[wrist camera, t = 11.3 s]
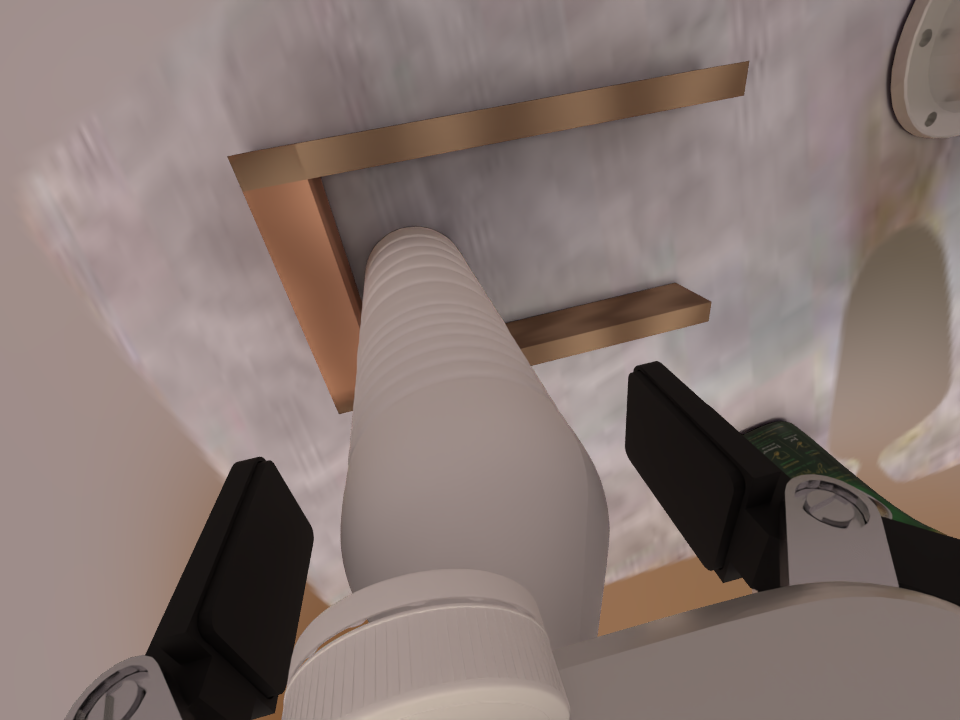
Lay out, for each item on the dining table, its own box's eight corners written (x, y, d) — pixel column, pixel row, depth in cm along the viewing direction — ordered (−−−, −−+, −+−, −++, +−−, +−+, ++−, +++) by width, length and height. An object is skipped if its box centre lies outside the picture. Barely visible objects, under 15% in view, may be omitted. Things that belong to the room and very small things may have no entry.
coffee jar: (709, 492, 46) (881, 682, 30) (705, 445, 42) (902, 638, 26) (788, 457, 46) (1001, 630, 30) (792, 407, 42) (1042, 578, 26)
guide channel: (697, 69, 24) (749, 60, 21) (673, 300, 32) (708, 321, 29) (251, 151, 22) (227, 156, 18) (343, 380, 29) (338, 414, 26)
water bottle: (478, 298, 29) (765, 799, 7) (393, 335, 29) (433, 941, 7) (428, 171, 24) (811, 526, 3) (326, 215, 24) (-92, 914, 3)
